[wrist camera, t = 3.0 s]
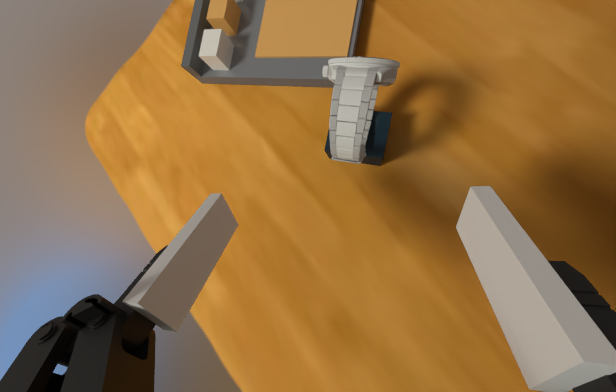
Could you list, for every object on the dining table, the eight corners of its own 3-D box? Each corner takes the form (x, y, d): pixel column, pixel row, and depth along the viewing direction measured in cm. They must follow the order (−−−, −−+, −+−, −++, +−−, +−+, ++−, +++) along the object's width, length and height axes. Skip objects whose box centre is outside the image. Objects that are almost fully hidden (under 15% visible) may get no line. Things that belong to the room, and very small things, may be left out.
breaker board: (369, -30, 25) (370, -75, 21) (348, 88, 24) (346, 63, 20) (222, -14, 30) (201, -48, 26) (202, 83, 29) (177, 63, 26)
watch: (392, 108, 23) (416, 15, 12) (377, 182, 23) (388, 153, 12) (340, 104, 24) (321, 18, 14) (325, 173, 24) (295, 140, 13)
